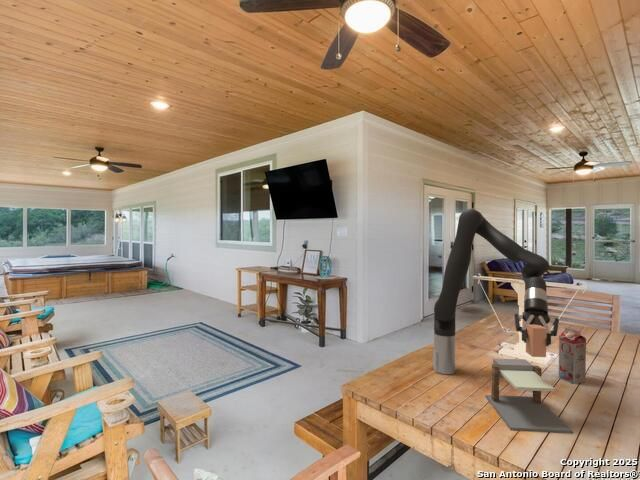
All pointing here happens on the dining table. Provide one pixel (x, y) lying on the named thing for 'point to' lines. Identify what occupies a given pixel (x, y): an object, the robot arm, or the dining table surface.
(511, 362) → the trapdoor
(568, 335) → the juice carton
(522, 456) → the dining table surface
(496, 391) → the posts
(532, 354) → the brick
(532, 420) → the mat
